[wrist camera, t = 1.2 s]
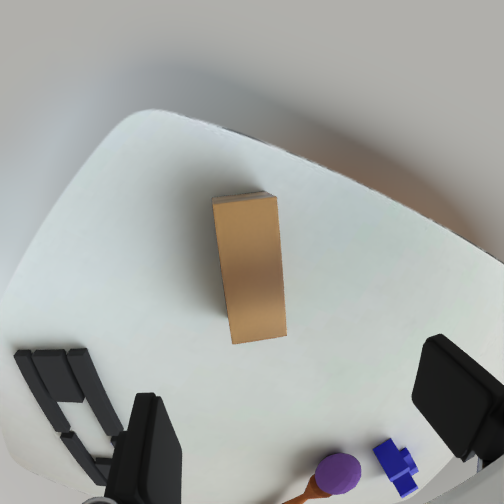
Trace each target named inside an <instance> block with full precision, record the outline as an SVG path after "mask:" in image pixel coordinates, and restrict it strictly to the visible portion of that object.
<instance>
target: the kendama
mask: <svg viewBox="0 0 504 504" xmlns="http://www.w3.org/2000/svg"><path fill="white" fill-rule="evenodd" d="M360 478H361V465H360V463H359V462H358V460H357V459H356V458H355V457H353V456H351V455H349V454H344V453H337V454H333V455H330V456H327V457H326V458H325V459H323V460H322V461H321V462H320V464H319V465H318V467H317V469H316V471H315V474H314V475H312V477H311V478H310V480H309V482H308V485H307V487H306V489H305V492H304V494H302V495H300V496H298V497H295V498H293V499H291V500H289V501H287V502H284V503H282V504H303V503H304V502H305V501H306V500H307V499H315V498H327V497H330V496H332V495H338V494H344V493H346V492H348V491H350V490H351V489H353V488H354V487H356V485H357V483H358V481H359V480H360Z"/></svg>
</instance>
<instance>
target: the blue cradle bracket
mask: <svg viewBox="0 0 504 504" xmlns="http://www.w3.org/2000/svg"><path fill="white" fill-rule="evenodd" d="M373 451H374V453H375V455H376V457H377V458H378V460H379V462H380V464H381V466H382V467H383V469H384V471H385V473H386V475H387V476H388V478H389V480H390V481H391V482H393V484H394V485H395V487H396V489H397V491H398V492H399V494H400V496H401V497H402V498H403V497H405V496H407V495H408V494H410V493H412V492H413V491H415V490H416V489H418V487H417V485H416V483H415V482H414V480H413V478H412V475H414V474H415V473H417V472H418V468H417V466H416V464H415V462H414V461H413V459H412V457H411V454H410V453H409V451H408V450H407V448H405V449H403V450H402V451H400V452H399V450H398V449H397V447H396V446H395V444H394V443H393V441H392V439H391V438H390V439H389V440H387V441H386V442H384V443H382V444H381V445H379V446H377V447H376V448H374V449H373Z"/></svg>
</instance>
